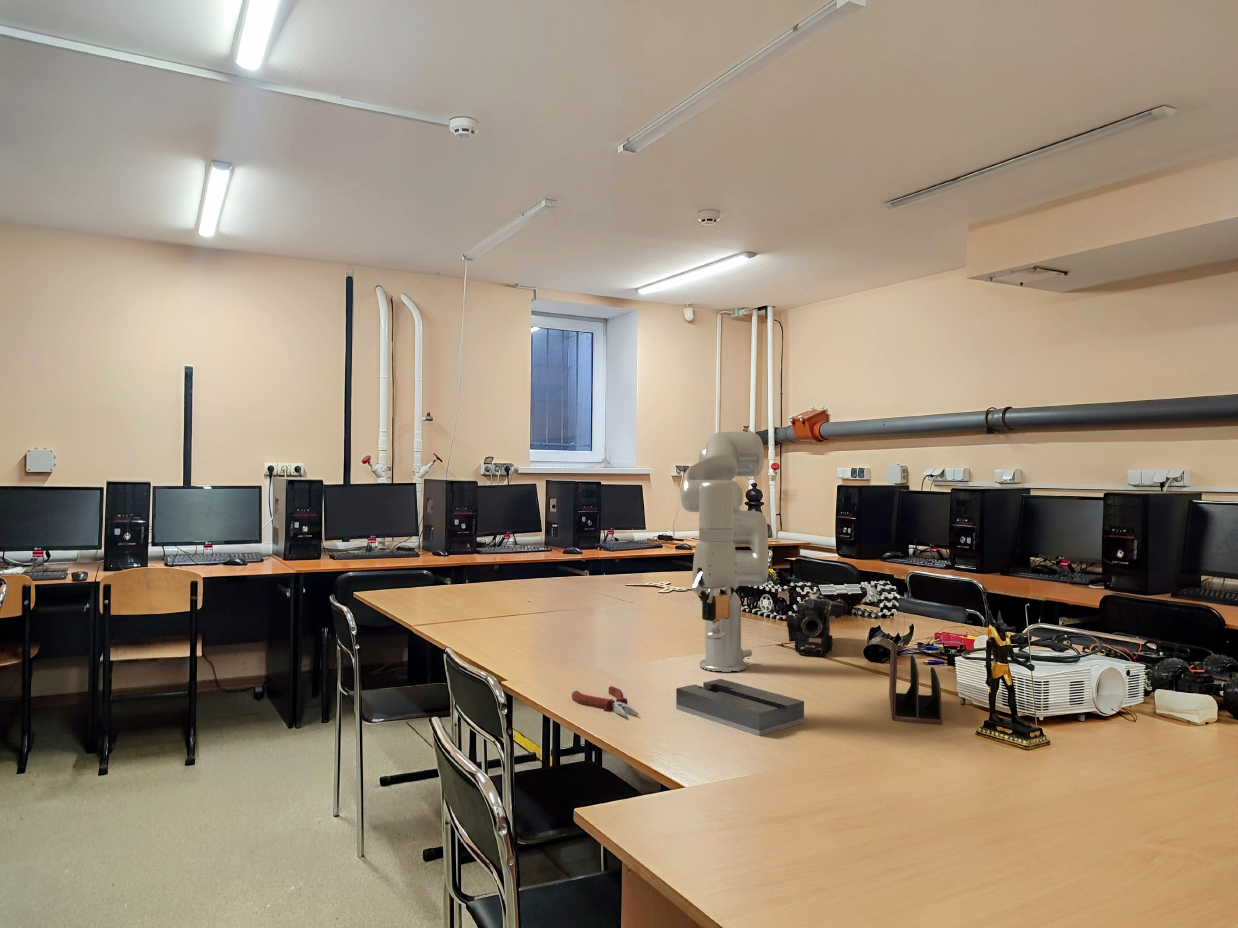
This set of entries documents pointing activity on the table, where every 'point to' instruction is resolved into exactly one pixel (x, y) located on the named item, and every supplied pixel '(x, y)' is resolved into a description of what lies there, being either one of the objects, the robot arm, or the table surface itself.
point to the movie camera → (814, 624)
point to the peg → (719, 615)
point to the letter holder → (914, 696)
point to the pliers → (606, 702)
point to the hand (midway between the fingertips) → (715, 618)
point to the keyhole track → (740, 706)
